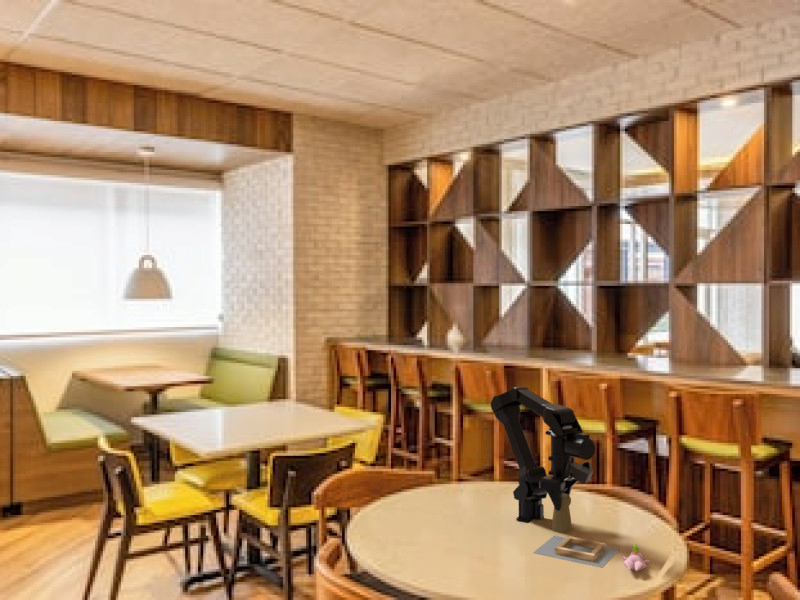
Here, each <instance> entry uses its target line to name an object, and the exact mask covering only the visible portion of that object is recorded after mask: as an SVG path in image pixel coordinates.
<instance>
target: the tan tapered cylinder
mask: <svg viewBox="0 0 800 600" xmlns="http://www.w3.org/2000/svg"><path fill="white" fill-rule="evenodd" d="M571 504H572V498H571V496H569V495H568V494H566V493H563V494H562V502H561V508H560V511H557V510H556V509H555V507H554V506H553V513H552V522H551V526H550V527H551V530H552V531H553V532H555V533H561V534H566V533H571V532H573V525H572V519H571V511H570V506H571Z"/></svg>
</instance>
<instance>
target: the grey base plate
mask: <svg viewBox="0 0 800 600" xmlns="http://www.w3.org/2000/svg"><path fill="white" fill-rule="evenodd" d="M566 538H567V537H563V536H558V535H552V537H550V538H549V539H548V540H546V541H545V542H544V543H543V544H541V545H540V546H539V547H538V548H536V549H535V550H534V551H533V552H532V554H536V555H541V556H546V557H550V558H553V559H559V560H564V561H567V562H568V561H570V562H574V563H578V564H582V565H587V566H592V567H595V568H604V567H605V566H606V565H607V564H608V562H610V560H611V559H612V558H613V557H614V556H615V554H617V552H618V551H620V549H621V548H620V547H615V546H610V545H606V549H605V550H604V551H603V552H602V553H601V555H600V556H599V557H598V558H597V559H596V560H595V561H594V562H593V561H588V560H583V559H578V558H574V557H569V556H564V555H559V554H555V547H556V546H557V545H559V544H560V543H561V542H562V541H563V540H564V539H566ZM567 548H568V549H573V550H577V551H582V552H587V553H591V552H592V551H593V550H594V548H589V547H584V546H579V545H574V544H571V545H570V546H568V547H567Z"/></svg>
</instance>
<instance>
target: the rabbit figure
mask: <svg viewBox="0 0 800 600" xmlns="http://www.w3.org/2000/svg"><path fill="white" fill-rule="evenodd" d="M622 559H623V560H624V562H623V564H624V565H625V567H626V568H627V570H629V571H632V570H633V571H636V572H637V571H641V570H643V569H645V568H646V567H647V563H650V560H649V559H646V560H645V558H644V555H643V552H642V553H641V552H640V550H639V547H638V545H637V544H634V545H633V548H632V551H631V553H630V554H629V555H628V557H625V556H622Z"/></svg>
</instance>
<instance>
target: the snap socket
mask: <svg viewBox="0 0 800 600" xmlns="http://www.w3.org/2000/svg"><path fill="white" fill-rule="evenodd" d="M565 538H566V539H564V540H563V541H562V542H561V543H560V544H559V545H557V546H556V547H555V554H559V555H564V556H569V557H574V558H578V559H583V560H588V561H593V562H594V561H595V560H596V559H597V558H598V557H599V556H600V555H601V553H602V552H603V551H604V550H605V549H606V546H607V544H606V542H601V541H595V540H592V539H591V540H590V539H586V538H580V537H577V536H576V537H574V536H570V535H568V536H567V537H565ZM571 544H574V545H579V546H584V547H589V548H594V550H593V551H592V552H591V553H587V552H582V551H577V550H573V549H568V548H567V547H568V546H570V545H571Z"/></svg>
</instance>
